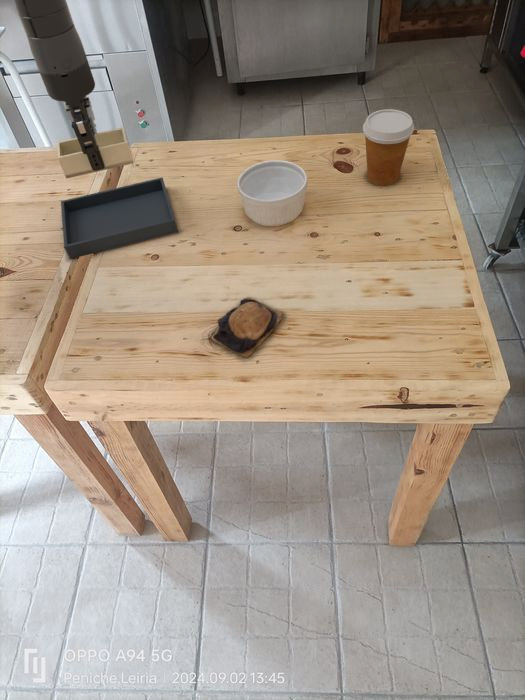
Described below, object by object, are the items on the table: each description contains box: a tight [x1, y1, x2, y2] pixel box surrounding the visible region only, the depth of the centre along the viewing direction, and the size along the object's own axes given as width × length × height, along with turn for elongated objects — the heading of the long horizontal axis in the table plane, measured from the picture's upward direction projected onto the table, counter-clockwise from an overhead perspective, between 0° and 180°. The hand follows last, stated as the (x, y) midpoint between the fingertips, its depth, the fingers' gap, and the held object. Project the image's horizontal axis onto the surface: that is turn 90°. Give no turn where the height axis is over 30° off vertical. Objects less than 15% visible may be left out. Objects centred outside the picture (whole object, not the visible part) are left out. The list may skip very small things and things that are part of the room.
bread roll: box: [210, 297, 283, 359], centre depth 85 cm, size 11×8×4 cm
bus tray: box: [60, 176, 179, 260], centre depth 106 cm, size 21×15×3 cm
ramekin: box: [236, 159, 308, 227], centre depth 103 cm, size 13×13×7 cm
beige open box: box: [56, 127, 135, 179], centre depth 94 cm, size 12×6×4 cm, turn 106°
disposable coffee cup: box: [362, 108, 415, 186], centre depth 104 cm, size 10×10×12 cm
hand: (97, 159), depth 94 cm, fingers closed on beige open box, 5 cm apart
